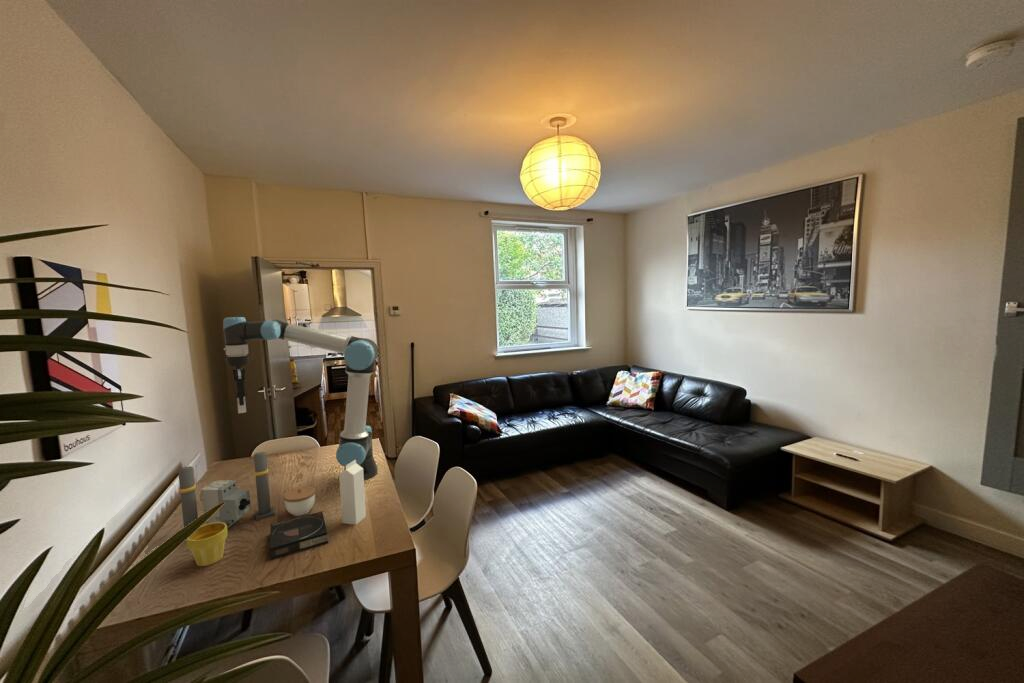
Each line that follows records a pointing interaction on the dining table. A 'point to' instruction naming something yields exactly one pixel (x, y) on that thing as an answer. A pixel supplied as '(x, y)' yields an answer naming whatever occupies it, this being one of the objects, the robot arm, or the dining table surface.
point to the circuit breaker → (228, 493)
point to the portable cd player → (297, 534)
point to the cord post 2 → (262, 487)
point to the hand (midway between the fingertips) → (242, 412)
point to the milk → (352, 494)
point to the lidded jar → (299, 500)
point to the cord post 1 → (187, 494)
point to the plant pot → (208, 543)
